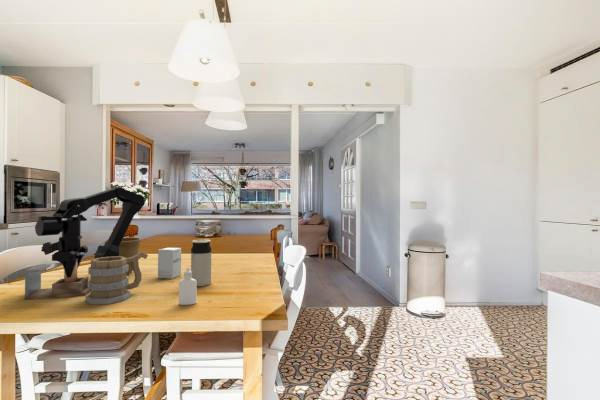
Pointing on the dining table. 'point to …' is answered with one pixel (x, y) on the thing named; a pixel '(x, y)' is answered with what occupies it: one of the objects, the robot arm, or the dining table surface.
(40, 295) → the socket block
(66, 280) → the peg
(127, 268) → the tankard
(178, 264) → the supplement box
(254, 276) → the dining table surface
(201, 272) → the travel mug
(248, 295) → the dining table surface
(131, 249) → the plant pot
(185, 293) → the eye dropper bottle
